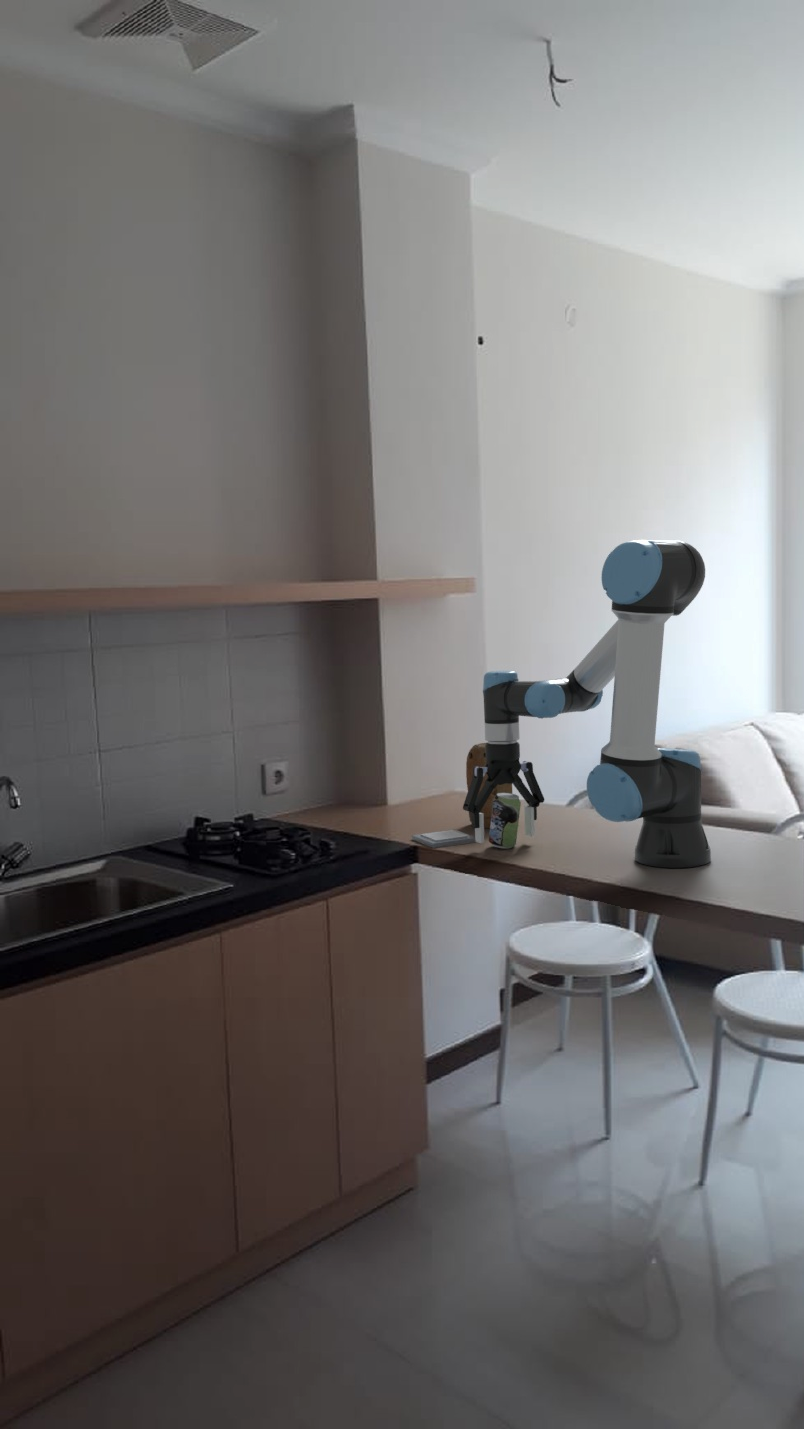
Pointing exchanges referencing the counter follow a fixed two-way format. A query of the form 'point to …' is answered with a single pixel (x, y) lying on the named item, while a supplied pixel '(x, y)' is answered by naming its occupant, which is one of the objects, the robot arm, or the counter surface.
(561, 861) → the counter surface
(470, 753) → the block
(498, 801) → the beverage can
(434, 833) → the plate
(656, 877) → the counter surface
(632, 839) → the counter surface
